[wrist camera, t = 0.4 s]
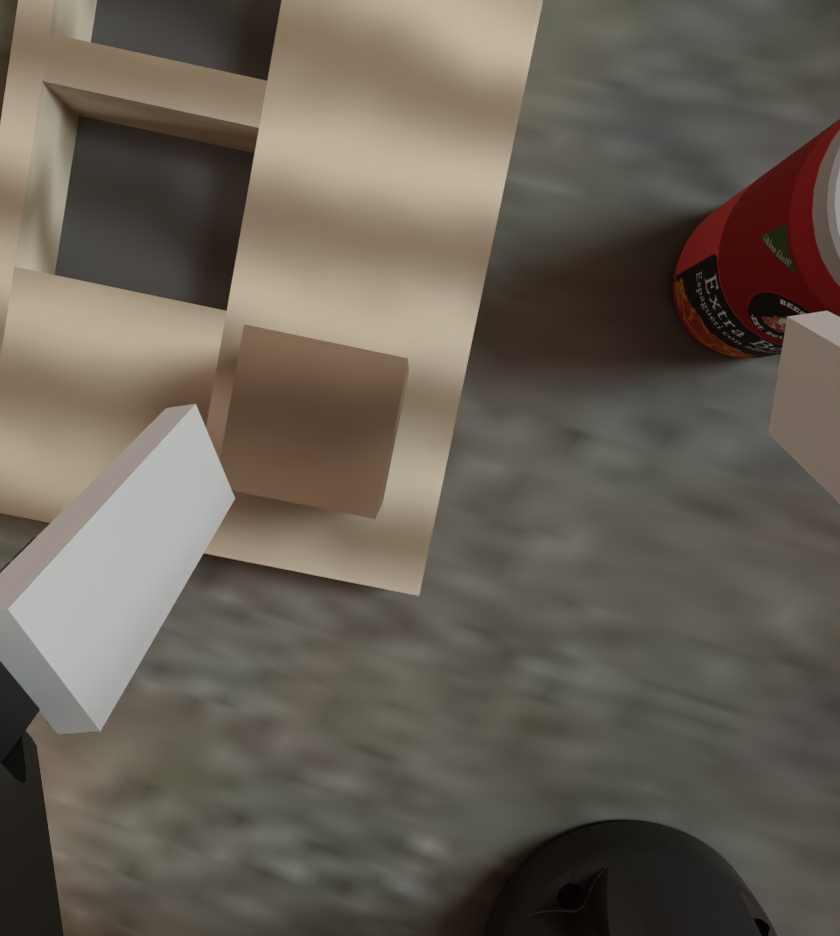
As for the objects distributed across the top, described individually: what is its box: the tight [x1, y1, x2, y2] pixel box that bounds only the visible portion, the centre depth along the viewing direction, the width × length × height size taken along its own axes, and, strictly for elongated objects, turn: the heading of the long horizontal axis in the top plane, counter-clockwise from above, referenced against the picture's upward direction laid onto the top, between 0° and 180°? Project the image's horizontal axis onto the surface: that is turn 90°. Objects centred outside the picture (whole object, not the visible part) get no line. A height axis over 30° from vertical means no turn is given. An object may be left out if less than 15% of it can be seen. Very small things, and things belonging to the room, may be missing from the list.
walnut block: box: [220, 324, 409, 519], centre depth 23 cm, size 6×6×5 cm
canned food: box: [673, 119, 840, 358], centre depth 23 cm, size 8×8×11 cm
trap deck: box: [0, 0, 543, 596], centre depth 26 cm, size 40×22×3 cm, turn 168°
